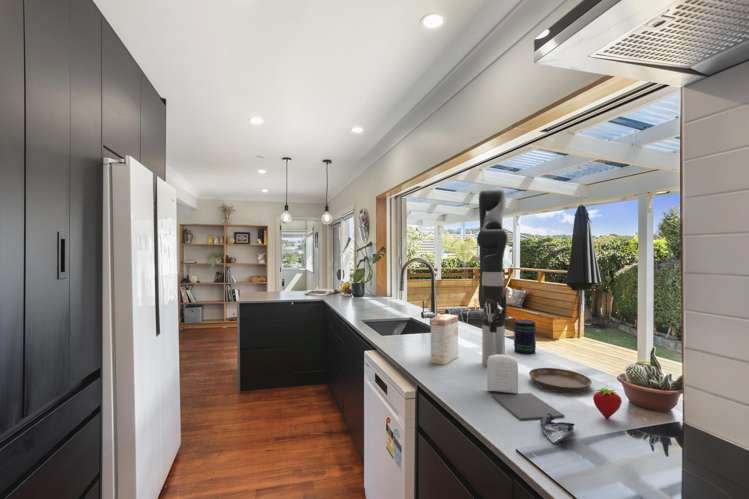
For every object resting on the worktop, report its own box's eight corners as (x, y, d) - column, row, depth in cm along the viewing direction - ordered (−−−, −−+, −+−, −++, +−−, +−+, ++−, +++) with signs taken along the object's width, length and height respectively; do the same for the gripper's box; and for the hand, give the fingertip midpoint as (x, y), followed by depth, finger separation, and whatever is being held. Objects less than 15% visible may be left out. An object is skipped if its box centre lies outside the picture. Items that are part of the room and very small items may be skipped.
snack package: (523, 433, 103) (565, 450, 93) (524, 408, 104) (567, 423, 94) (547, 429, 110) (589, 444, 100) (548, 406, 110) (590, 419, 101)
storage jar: (516, 354, 181) (516, 322, 181) (512, 349, 190) (512, 319, 190) (538, 355, 179) (538, 323, 179) (533, 349, 189) (533, 319, 189)
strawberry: (626, 423, 108) (626, 387, 108) (599, 422, 108) (599, 387, 108) (614, 414, 114) (614, 380, 114) (588, 413, 114) (588, 380, 114)
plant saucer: (605, 393, 132) (605, 383, 132) (553, 398, 127) (553, 388, 127) (564, 374, 152) (564, 366, 152) (517, 378, 147) (517, 369, 147)
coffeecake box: (444, 354, 179) (444, 313, 180) (458, 357, 175) (458, 315, 175) (429, 362, 167) (429, 318, 167) (444, 365, 163) (444, 319, 163)
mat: (491, 396, 127) (491, 395, 127) (530, 394, 130) (530, 392, 130) (520, 420, 110) (520, 418, 110) (564, 417, 112) (564, 415, 112)
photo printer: (518, 392, 131) (517, 355, 134) (518, 394, 127) (517, 355, 130) (487, 389, 134) (487, 353, 137) (486, 390, 130) (486, 353, 133)
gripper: (511, 285, 132) (511, 335, 132) (493, 282, 145) (494, 328, 145) (491, 285, 131) (491, 336, 131) (475, 283, 144) (475, 328, 144)
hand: (492, 332), depth 138 cm, fingers closed
